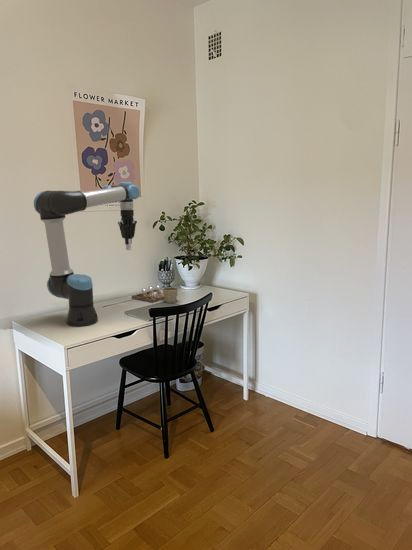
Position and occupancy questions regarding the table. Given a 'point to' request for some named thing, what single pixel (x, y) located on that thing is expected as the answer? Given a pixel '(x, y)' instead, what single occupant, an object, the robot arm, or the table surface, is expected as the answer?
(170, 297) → the flower pot
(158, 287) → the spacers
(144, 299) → the tray
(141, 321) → the table surface
